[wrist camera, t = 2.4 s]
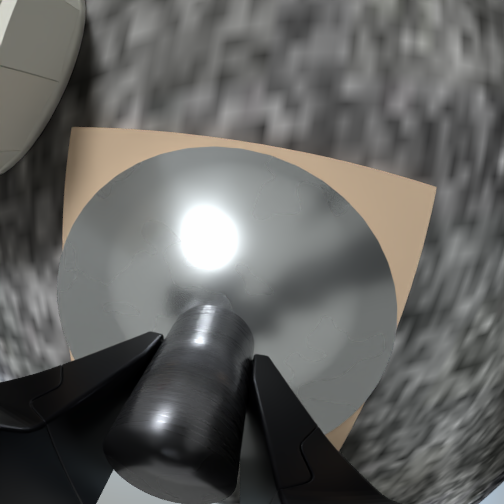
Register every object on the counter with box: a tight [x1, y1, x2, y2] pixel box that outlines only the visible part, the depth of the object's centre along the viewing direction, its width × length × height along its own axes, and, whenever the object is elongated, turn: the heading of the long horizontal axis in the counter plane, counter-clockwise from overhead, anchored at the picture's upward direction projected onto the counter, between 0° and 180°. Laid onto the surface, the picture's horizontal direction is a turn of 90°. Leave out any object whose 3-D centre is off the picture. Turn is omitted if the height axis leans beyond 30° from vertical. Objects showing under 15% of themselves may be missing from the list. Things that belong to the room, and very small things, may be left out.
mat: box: [63, 127, 437, 451], centre depth 10 cm, size 12×12×1 cm
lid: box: [57, 146, 397, 504], centre depth 7 cm, size 12×12×6 cm
